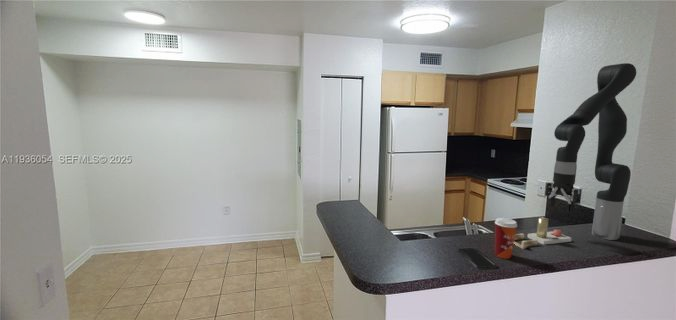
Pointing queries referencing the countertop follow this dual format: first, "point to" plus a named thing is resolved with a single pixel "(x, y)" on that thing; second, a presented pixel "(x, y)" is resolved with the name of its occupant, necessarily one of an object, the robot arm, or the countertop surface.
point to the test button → (557, 233)
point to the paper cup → (504, 237)
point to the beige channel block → (524, 243)
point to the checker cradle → (550, 238)
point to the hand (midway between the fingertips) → (560, 209)
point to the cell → (542, 227)
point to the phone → (477, 258)
